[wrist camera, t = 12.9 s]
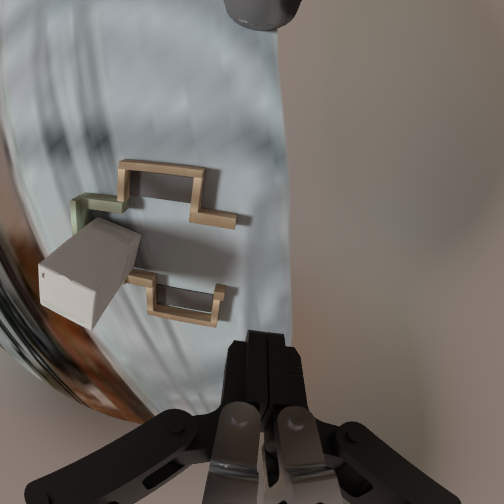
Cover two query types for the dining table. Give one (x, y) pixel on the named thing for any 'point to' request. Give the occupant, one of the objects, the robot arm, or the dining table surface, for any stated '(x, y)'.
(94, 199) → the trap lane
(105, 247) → the skincare box
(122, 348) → the dining table surface
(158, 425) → the robot arm
